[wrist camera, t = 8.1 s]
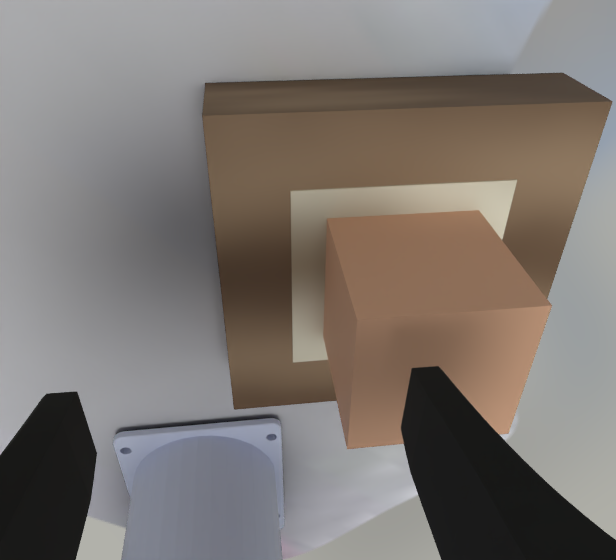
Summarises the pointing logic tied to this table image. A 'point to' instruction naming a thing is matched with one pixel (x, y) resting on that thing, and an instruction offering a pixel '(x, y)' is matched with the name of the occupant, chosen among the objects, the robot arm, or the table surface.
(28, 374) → the table surface
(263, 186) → the plinth
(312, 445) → the table surface
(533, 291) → the cube
